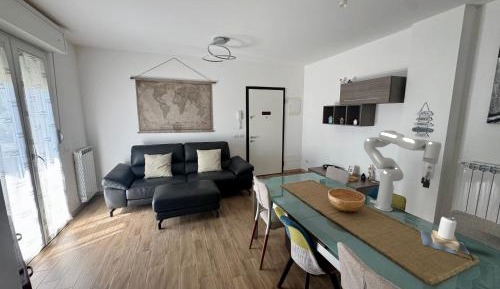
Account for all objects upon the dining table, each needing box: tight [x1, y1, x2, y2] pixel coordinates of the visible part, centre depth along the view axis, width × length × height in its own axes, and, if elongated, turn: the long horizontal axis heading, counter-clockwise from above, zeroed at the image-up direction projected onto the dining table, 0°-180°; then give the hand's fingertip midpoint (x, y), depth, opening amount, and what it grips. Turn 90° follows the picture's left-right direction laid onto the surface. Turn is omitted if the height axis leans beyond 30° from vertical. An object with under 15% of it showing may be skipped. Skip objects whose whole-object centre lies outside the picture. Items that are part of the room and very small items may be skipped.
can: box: [437, 214, 457, 240], centre depth 118 cm, size 6×6×12 cm
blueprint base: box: [419, 229, 471, 255], centre depth 120 cm, size 20×18×5 cm
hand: (424, 185), depth 136 cm, fingers open, 9 cm apart
